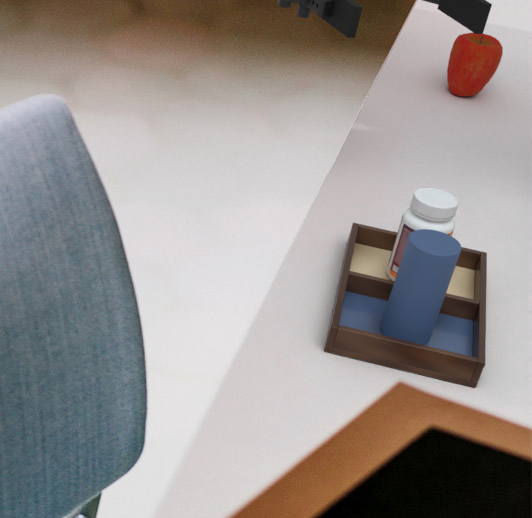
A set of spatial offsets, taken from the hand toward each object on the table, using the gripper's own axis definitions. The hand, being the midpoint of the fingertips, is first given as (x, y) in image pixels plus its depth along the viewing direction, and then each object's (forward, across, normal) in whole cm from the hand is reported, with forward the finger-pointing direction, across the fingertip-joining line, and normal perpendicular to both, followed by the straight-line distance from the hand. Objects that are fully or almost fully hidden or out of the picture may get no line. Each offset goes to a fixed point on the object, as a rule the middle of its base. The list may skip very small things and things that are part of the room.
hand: (421, 21), depth 106 cm
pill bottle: (+10, 0, -21) cm, 23 cm away
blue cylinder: (+18, +6, -21) cm, 28 cm away
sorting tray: (+14, +3, -22) cm, 26 cm away
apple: (-31, -33, -22) cm, 51 cm away
